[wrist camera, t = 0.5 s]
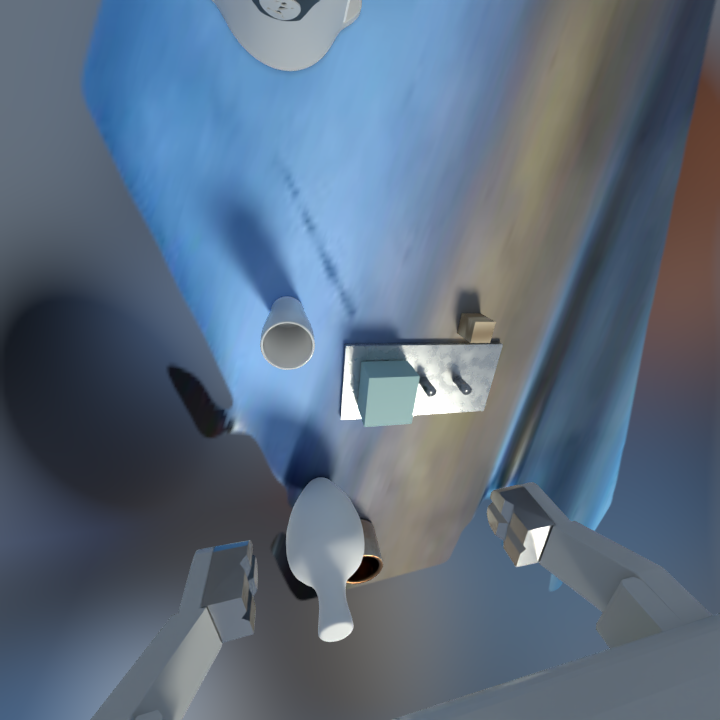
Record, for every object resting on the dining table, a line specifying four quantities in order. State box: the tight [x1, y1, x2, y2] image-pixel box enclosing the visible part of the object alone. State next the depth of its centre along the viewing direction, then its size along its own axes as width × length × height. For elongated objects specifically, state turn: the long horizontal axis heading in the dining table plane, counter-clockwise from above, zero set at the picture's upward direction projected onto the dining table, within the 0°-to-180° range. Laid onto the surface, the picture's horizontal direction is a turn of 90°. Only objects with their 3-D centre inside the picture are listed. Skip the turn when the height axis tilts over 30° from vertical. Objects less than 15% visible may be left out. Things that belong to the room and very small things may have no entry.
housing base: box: [341, 342, 503, 420], centre depth 62 cm, size 16×32×5 cm, turn 86°
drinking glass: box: [260, 296, 315, 370], centre depth 46 cm, size 7×7×15 cm
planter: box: [346, 519, 383, 584], centre depth 76 cm, size 11×11×10 cm
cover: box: [357, 361, 420, 427], centre depth 58 cm, size 10×9×6 cm
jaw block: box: [457, 313, 496, 343], centre depth 58 cm, size 4×4×5 cm
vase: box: [286, 477, 365, 642], centre depth 58 cm, size 14×14×28 cm
